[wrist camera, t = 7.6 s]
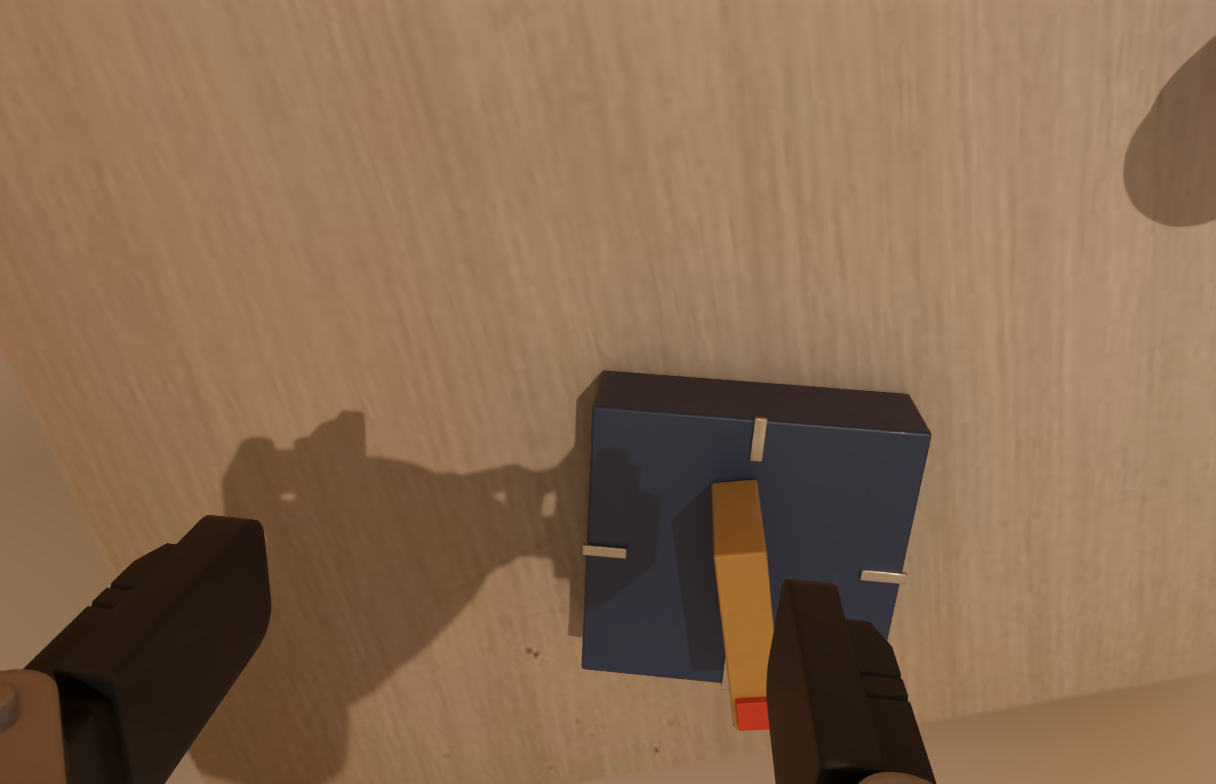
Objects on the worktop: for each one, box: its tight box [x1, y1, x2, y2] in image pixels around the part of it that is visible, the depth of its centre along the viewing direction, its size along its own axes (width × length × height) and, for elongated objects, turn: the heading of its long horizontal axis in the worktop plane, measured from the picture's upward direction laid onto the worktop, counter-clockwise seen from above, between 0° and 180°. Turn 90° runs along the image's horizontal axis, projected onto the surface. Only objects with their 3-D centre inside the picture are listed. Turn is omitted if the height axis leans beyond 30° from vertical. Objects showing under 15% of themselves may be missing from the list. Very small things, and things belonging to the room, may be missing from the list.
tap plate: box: [582, 371, 932, 690], centre depth 29 cm, size 10×10×3 cm
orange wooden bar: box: [711, 480, 774, 731], centre depth 26 cm, size 6×1×4 cm, turn 8°
